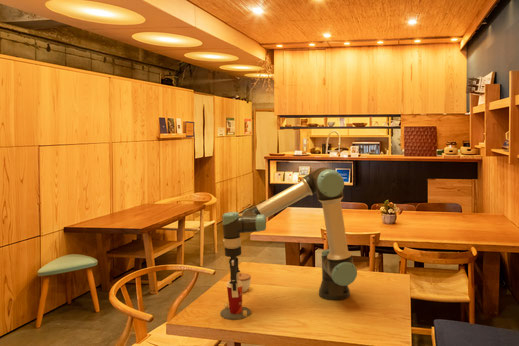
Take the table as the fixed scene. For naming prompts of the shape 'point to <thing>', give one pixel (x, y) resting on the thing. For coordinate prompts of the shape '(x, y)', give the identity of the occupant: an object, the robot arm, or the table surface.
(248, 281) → the lidded jar
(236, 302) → the paper cup
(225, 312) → the pad
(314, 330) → the table surface
